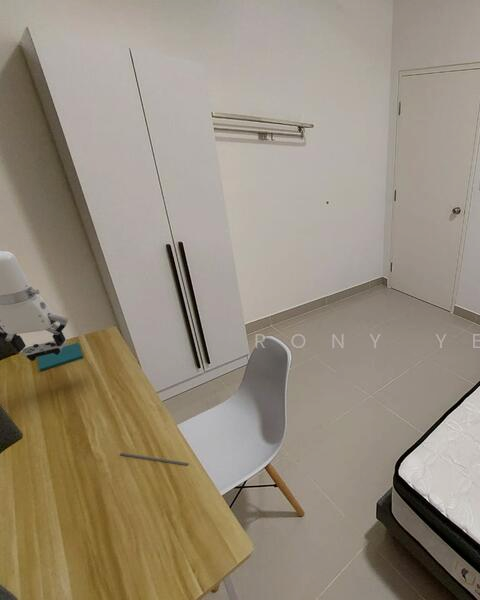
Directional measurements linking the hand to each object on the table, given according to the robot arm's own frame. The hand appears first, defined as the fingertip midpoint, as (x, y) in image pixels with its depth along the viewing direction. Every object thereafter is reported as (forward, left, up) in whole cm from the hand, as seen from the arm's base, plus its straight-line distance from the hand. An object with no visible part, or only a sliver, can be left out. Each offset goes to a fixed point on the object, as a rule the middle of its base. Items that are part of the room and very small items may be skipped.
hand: (41, 346), depth 99 cm
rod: (+31, -41, -16) cm, 54 cm away
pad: (-7, +18, -16) cm, 25 cm away
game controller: (0, 0, -3) cm, 3 cm away
